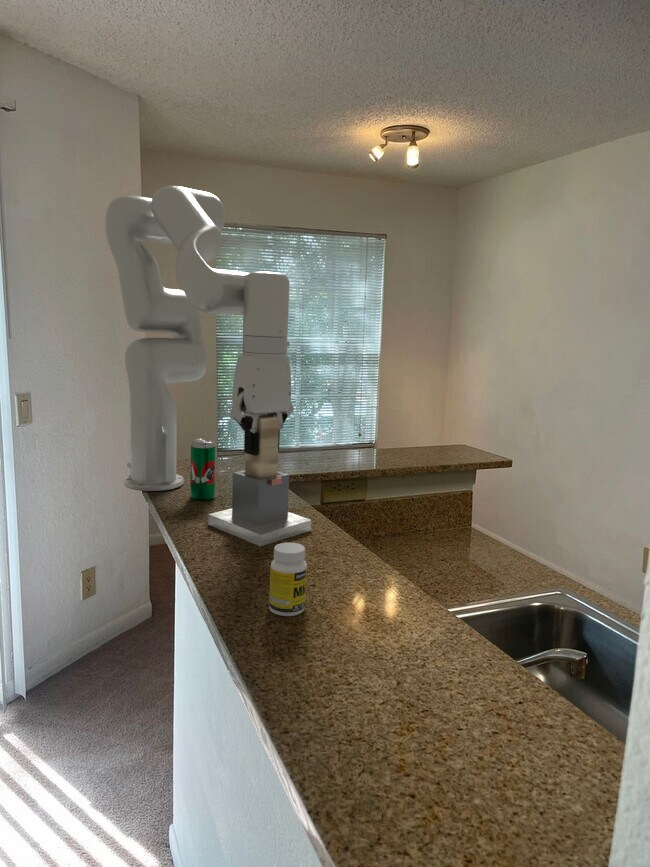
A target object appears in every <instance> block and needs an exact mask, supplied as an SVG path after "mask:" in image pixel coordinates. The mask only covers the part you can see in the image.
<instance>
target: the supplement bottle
mask: <svg viewBox="0 0 650 867" xmlns="http://www.w3.org/2000/svg"><path fill="white" fill-rule="evenodd" d="M305 559H306V547H305V546H304V545H303V544H300V543H297V542H281V543H278V544H276V545H275V546H274V548H273V560H272V561H271V564H270V567H269V568H270V574H269V596H268V597H269V598H268V609H269V610H270V612H272V613H273V614H275V615H278V616H283V617H295V616H297V615H300V614H302V613H303V612H305V609H306V595H307V578H308V577H307V575H308V574H307V572H308V564H307V562H306V560H305Z"/></svg>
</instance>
